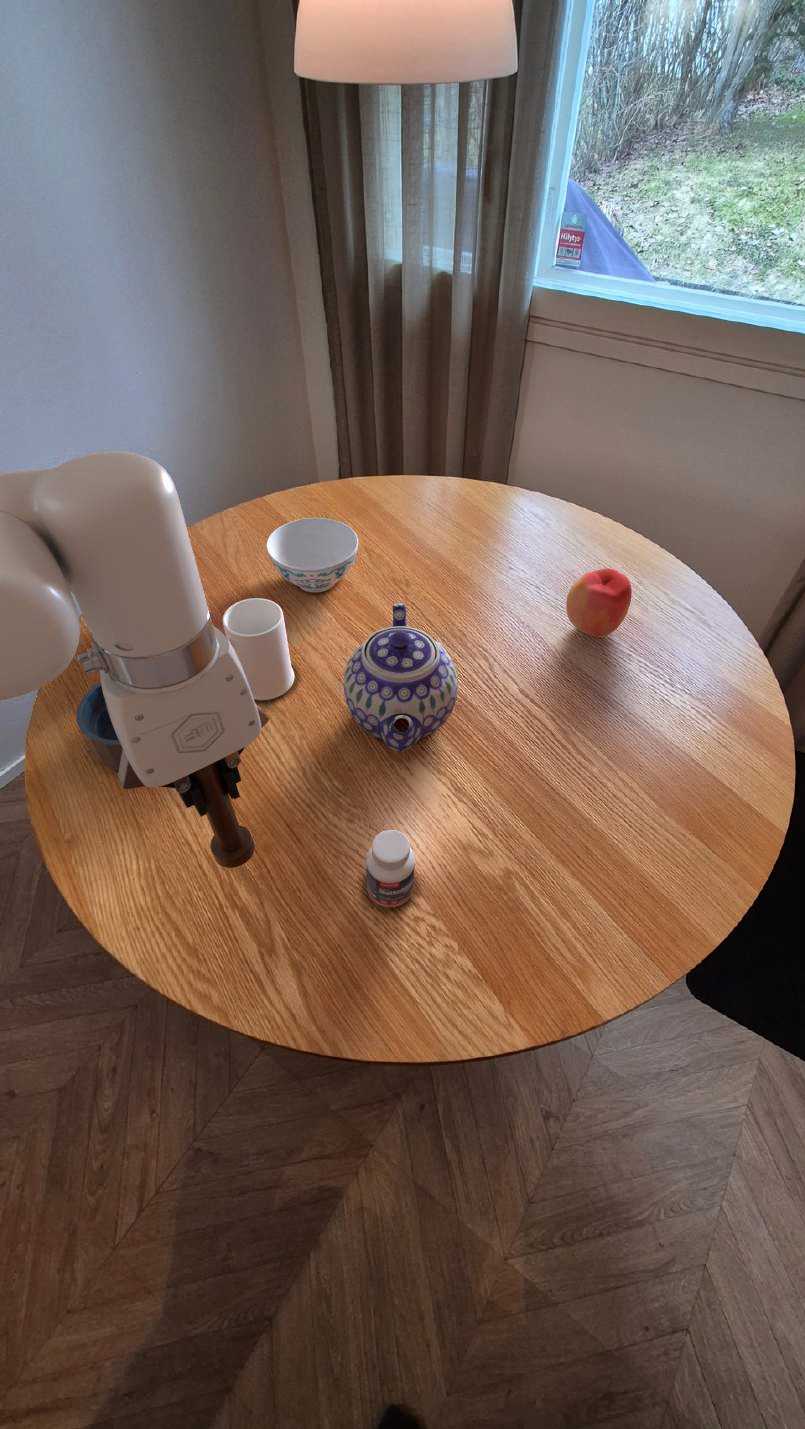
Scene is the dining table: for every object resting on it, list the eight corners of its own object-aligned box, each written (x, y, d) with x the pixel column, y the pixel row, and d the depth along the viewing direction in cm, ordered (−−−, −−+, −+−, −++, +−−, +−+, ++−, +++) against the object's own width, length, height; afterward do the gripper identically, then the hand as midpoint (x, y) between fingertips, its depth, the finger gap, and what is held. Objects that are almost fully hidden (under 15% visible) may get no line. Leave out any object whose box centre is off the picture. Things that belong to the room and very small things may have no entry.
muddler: (225, 875, 63) (186, 781, 53) (206, 848, 65) (166, 752, 55) (262, 852, 64) (231, 757, 55) (242, 826, 67) (209, 730, 57)
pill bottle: (376, 914, 73) (375, 875, 67) (360, 875, 76) (357, 833, 70) (420, 898, 74) (423, 858, 68) (403, 860, 78) (404, 818, 71)
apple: (592, 603, 111) (606, 552, 103) (634, 635, 105) (652, 584, 98) (548, 623, 107) (560, 572, 100) (590, 657, 102) (605, 606, 94)
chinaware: (294, 549, 120) (289, 511, 115) (372, 564, 117) (371, 526, 112) (257, 597, 111) (250, 558, 105) (340, 616, 108) (337, 577, 102)
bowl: (111, 790, 84) (95, 761, 80) (78, 725, 91) (62, 694, 87) (209, 744, 89) (199, 714, 85) (171, 686, 97) (160, 655, 92)
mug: (235, 720, 92) (218, 657, 83) (205, 686, 97) (186, 623, 88) (305, 682, 97) (297, 619, 88) (274, 652, 102) (263, 589, 93)
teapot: (353, 653, 102) (348, 573, 91) (452, 656, 102) (460, 575, 90) (337, 786, 85) (329, 706, 74) (457, 790, 85) (466, 710, 74)
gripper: (54, 725, 40) (141, 873, 54) (288, 626, 46) (313, 782, 60) (22, 656, 44) (110, 810, 58) (241, 574, 51) (274, 731, 64)
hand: (213, 794), depth 59 cm, fingers closed on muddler, 2 cm apart
